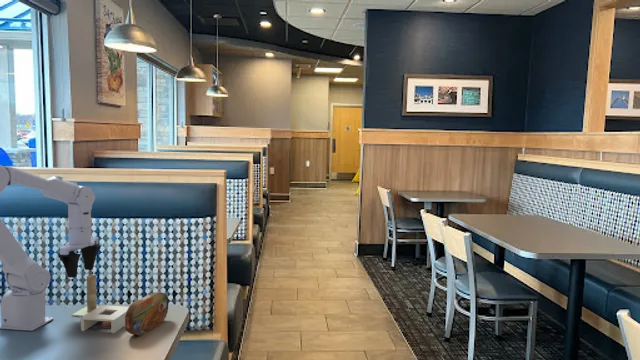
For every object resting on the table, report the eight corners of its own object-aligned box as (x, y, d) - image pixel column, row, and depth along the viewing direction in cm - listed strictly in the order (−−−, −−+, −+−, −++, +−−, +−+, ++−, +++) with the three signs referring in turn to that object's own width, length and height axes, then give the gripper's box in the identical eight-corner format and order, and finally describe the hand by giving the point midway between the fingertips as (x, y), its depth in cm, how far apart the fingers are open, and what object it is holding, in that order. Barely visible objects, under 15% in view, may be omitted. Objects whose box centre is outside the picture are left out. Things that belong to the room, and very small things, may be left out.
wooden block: (85, 312, 125) (84, 277, 125) (90, 308, 128) (89, 274, 127) (93, 312, 125) (92, 277, 124) (98, 309, 127) (97, 275, 127)
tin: (133, 341, 109) (133, 307, 108) (122, 339, 110) (122, 306, 109) (169, 318, 124) (169, 288, 123) (159, 316, 124) (159, 287, 124)
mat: (71, 316, 123) (71, 314, 123) (87, 306, 130) (87, 305, 130) (95, 317, 123) (95, 316, 123) (110, 308, 130) (110, 307, 130)
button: (100, 325, 117) (100, 320, 117) (106, 321, 119) (106, 316, 119) (109, 326, 117) (109, 320, 116) (115, 322, 119) (115, 317, 119)
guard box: (81, 330, 114) (80, 317, 114) (101, 317, 123) (101, 304, 123) (114, 333, 113) (114, 319, 113) (132, 319, 122) (132, 307, 122)
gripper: (76, 232, 121) (77, 281, 122) (107, 223, 135) (108, 267, 136) (52, 231, 122) (53, 280, 123) (85, 222, 136) (86, 266, 137)
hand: (80, 273), depth 130 cm, fingers open, 7 cm apart
